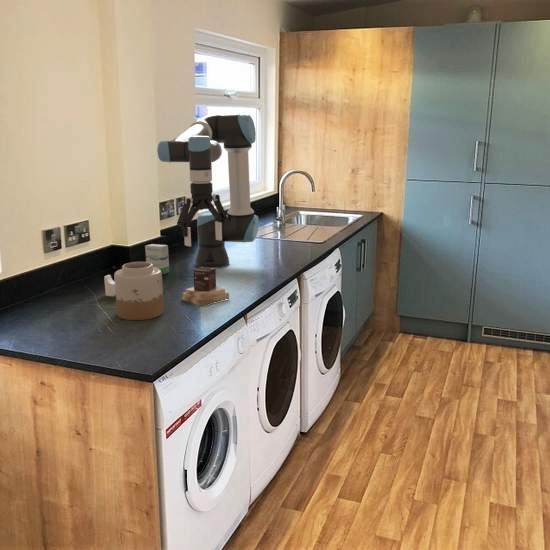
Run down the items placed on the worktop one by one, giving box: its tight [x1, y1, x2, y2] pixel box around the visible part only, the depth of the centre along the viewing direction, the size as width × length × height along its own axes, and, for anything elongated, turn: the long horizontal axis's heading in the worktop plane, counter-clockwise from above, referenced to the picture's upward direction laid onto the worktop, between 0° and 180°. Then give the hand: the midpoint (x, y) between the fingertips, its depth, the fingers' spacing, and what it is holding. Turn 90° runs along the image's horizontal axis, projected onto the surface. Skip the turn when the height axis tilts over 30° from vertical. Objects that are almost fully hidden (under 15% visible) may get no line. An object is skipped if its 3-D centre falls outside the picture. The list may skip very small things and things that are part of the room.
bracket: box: [103, 274, 116, 297], centre depth 229 cm, size 13×7×8 cm, turn 158°
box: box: [193, 267, 217, 291], centre depth 217 cm, size 6×6×7 cm
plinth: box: [181, 285, 230, 307], centre depth 218 cm, size 12×12×4 cm
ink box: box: [144, 243, 170, 275], centre depth 256 cm, size 9×5×12 cm, turn 65°
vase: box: [113, 261, 165, 321], centre depth 202 cm, size 15×15×17 cm
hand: (203, 242), depth 214 cm, fingers open, 13 cm apart
